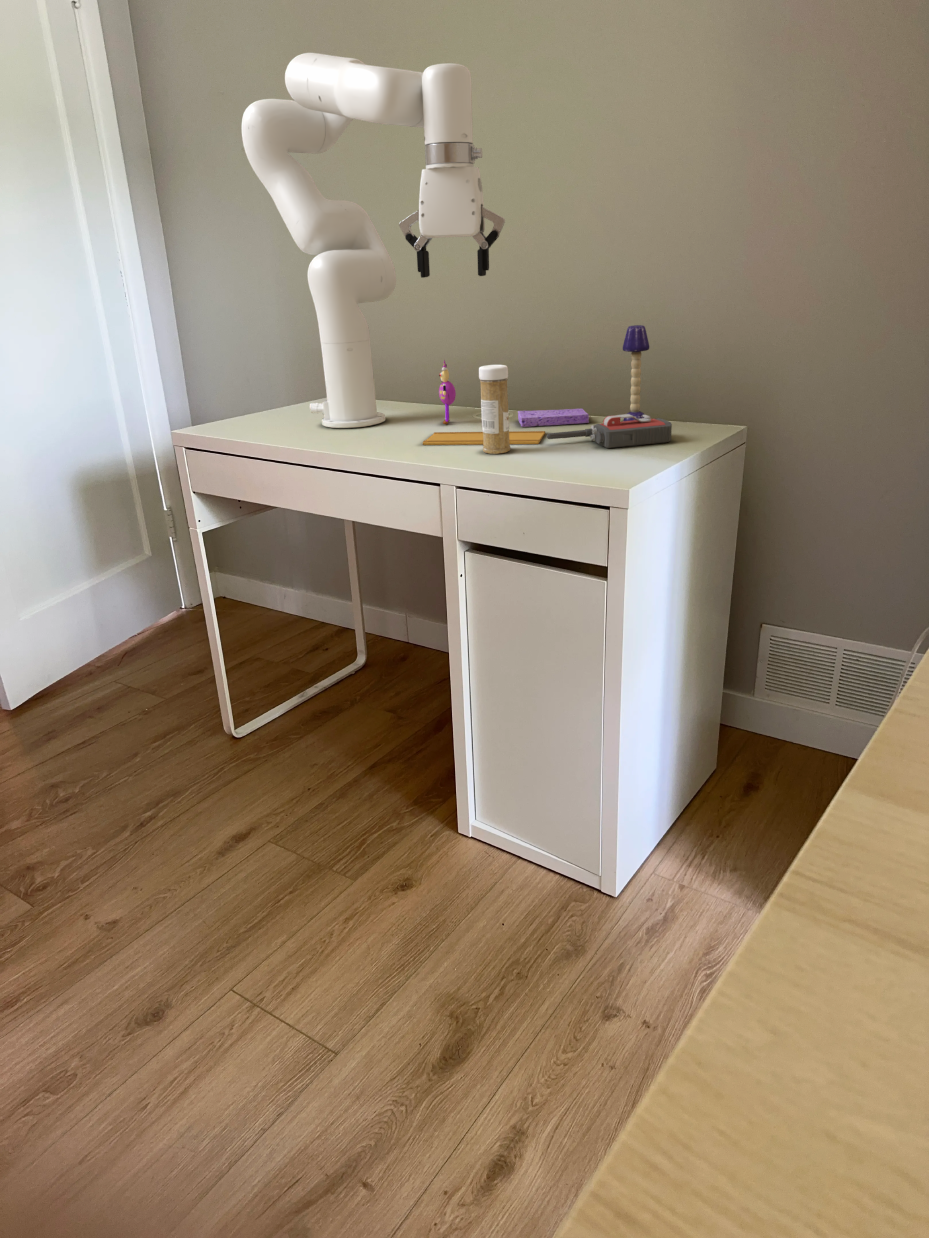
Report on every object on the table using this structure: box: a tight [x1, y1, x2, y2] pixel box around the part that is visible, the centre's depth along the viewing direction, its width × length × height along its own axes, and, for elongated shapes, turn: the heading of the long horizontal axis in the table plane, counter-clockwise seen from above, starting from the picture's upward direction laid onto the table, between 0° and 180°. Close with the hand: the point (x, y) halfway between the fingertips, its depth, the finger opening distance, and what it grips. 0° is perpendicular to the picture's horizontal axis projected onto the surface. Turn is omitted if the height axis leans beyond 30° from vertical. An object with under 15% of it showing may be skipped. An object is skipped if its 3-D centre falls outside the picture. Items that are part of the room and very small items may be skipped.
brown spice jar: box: [478, 364, 511, 455], centre depth 135 cm, size 5×5×13 cm
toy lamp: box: [622, 324, 650, 421], centre depth 152 cm, size 5×5×17 cm
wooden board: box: [422, 430, 546, 446], centre depth 148 cm, size 20×9×1 cm, turn 77°
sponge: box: [517, 408, 590, 428], centre depth 159 cm, size 7×13×2 cm, turn 91°
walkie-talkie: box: [546, 413, 673, 449], centre depth 139 cm, size 9×4×20 cm
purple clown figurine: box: [438, 358, 457, 425], centre depth 161 cm, size 11×3×12 cm, turn 179°
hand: (453, 276), depth 140 cm, fingers open, 9 cm apart
